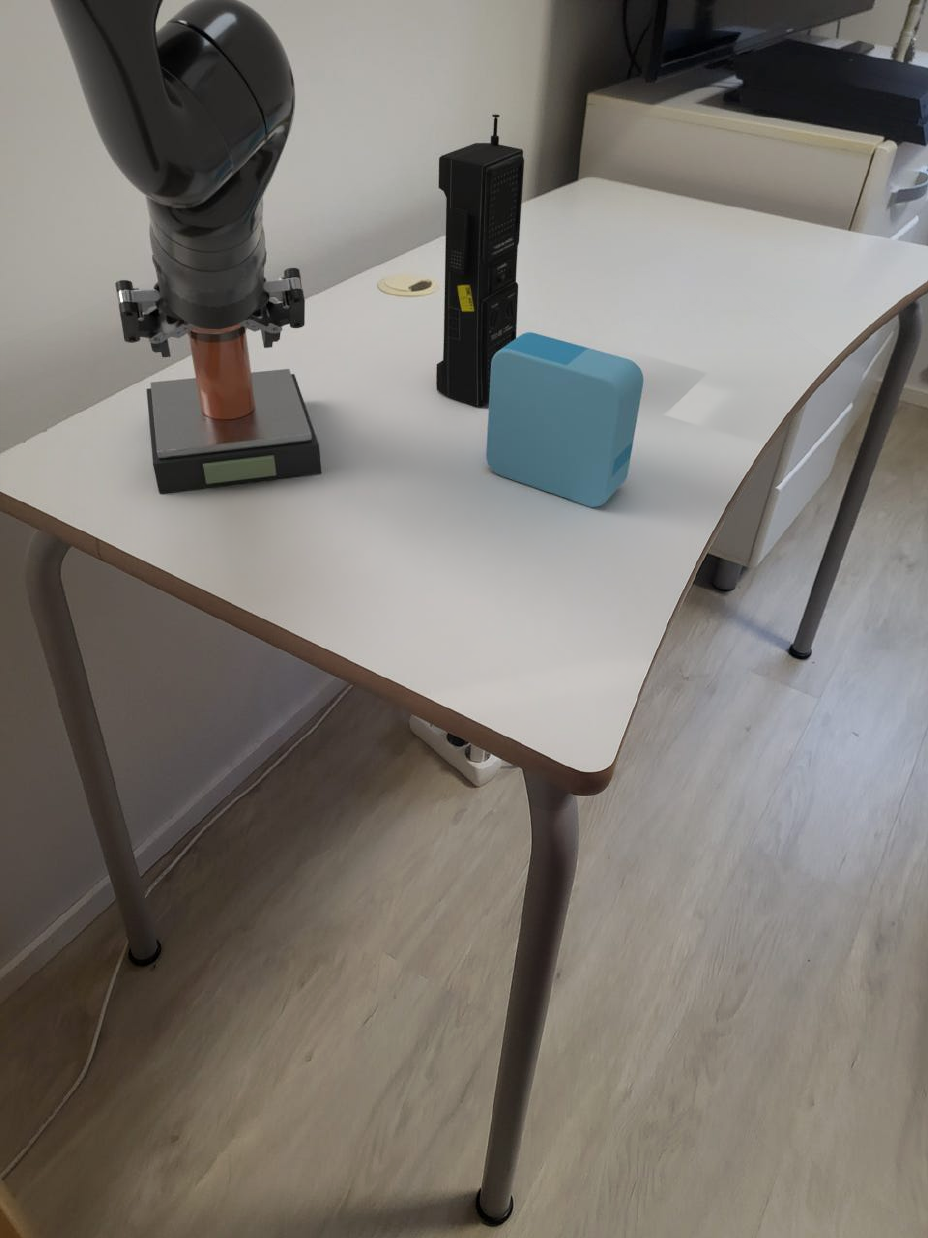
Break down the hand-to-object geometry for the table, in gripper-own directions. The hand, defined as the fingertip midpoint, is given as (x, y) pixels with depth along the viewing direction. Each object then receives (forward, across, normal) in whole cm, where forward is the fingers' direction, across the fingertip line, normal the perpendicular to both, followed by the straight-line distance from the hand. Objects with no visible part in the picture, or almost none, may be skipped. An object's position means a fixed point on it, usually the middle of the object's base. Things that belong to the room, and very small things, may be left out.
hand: (215, 341), depth 80 cm
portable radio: (+11, -25, +4) cm, 28 cm away
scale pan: (+5, 0, +5) cm, 7 cm away
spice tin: (+4, 0, +4) cm, 6 cm away
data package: (-2, -27, +16) cm, 32 cm away
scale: (+7, 0, +7) cm, 10 cm away
